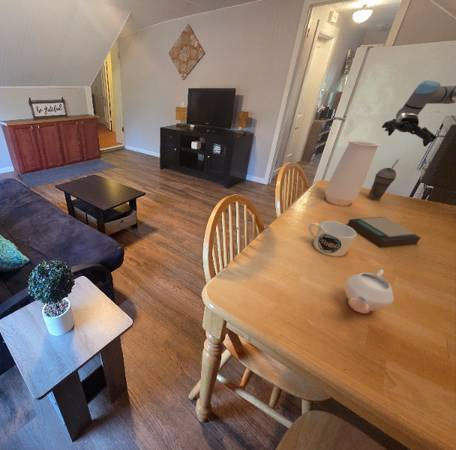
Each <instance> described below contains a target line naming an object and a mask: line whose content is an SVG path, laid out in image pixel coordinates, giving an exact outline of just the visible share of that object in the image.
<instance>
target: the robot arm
mask: <svg viewBox="0 0 456 450" xmlns="http://www.w3.org/2000/svg"><path fill="white" fill-rule="evenodd" d="M429 104H435V105H436V104H437V105H438V104H440V105H441V104H442V105H451V104H456V85H447V86H446V85H443V86H441V83H440V82H438V81H434V80H430V79H429V80H427V79H426V80H422V81H421V82H419V84H418V85H417V86H416V88H414V90H413V92H412V93H411V94H410V96H409V98H408V99H407V101H405V103H404V104H403V106H402V107H401V108H399V109H398V110H397V112H396V116H395V118H392V119H391V120H388V121H385V122H384V123H383V125H382V126H381V129H384V132H387V136H389V137H391V136H392V134H393V133H394V132H395V131H396V130H397V131H398V132H400V133H409V134H411V135H415V136H417V137H418V138H420V139H421V140H422V145H423V147H424V148H425V147H427V146H428V145H429V144H430V143H433V142H434V141H435V140H436V139H437V138H438V136H437V135H435V134H434V133H433V132H432V131H430V130H429V129H428V127H426V126H424V127H421V126H420V119H419V114H420V113H421V112H422V111H423V109H424V108H425V107H426V106H427V105H429Z"/></svg>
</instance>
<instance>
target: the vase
mask: <svg viewBox="0 0 456 450" xmlns="http://www.w3.org/2000/svg"><path fill="white" fill-rule="evenodd" d="M347 142H348V144H347V146H346V148H345V149H344V152H343V153H342V155H341V157H340V159H339V161H338V163H337V165H336V167H335V169H334V171H333V172H332V175H331V177H330V179H329V181H328V182H327V185H326V188H325V190H324V194H325V200H326V201H327V202H328V203H331V204H333V205H336V206H341V207H346V206H349V205H350V204H351V203H352V202H354V201H356V200H357V199H358V197H359V195H360V193H361V191H362V188H363V186H364V183H365V180H366V178H367V175H368V173H369V171H370V168H371V166H372V163H373V160H374V157H375V154H376V152H377V149H378V147H380V146H382V143H380V142H378V141H376V140H375V141H374V140H371V139H370V140H369V139H364V138H363V139H362V138H350V139H347Z"/></svg>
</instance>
